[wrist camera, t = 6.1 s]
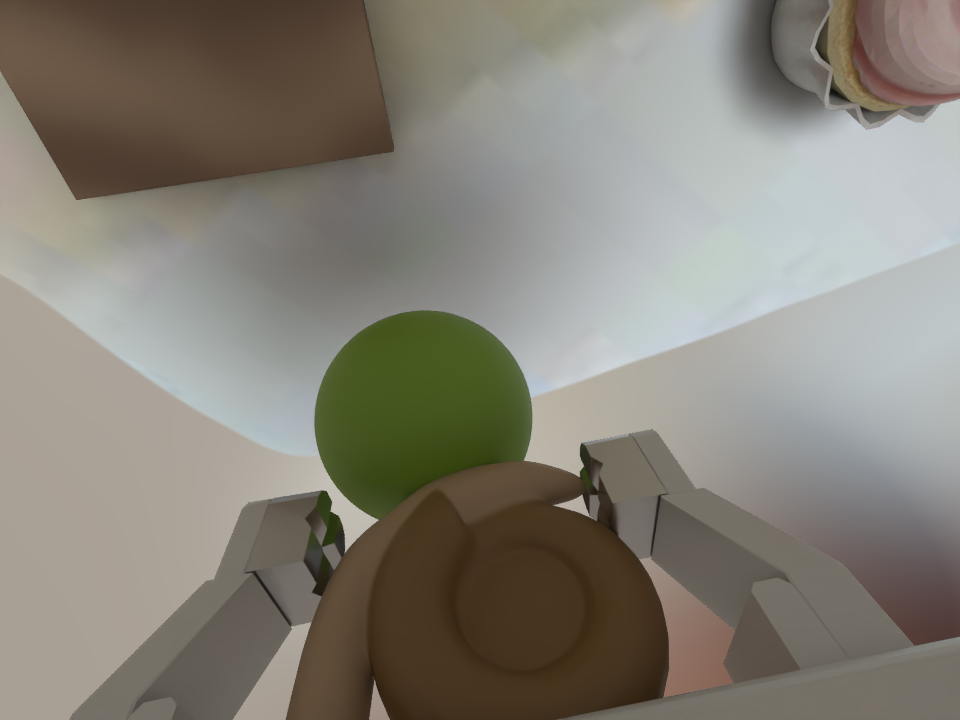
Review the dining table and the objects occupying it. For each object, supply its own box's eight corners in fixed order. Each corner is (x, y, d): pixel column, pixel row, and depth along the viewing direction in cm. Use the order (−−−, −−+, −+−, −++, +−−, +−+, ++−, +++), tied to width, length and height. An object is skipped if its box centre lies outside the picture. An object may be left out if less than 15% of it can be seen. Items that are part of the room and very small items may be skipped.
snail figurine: (245, 318, 12) (-110, 1552, 2) (478, 260, 13) (1030, 791, 3) (315, 466, 15) (327, 1237, 5) (499, 407, 16) (814, 918, 6)
